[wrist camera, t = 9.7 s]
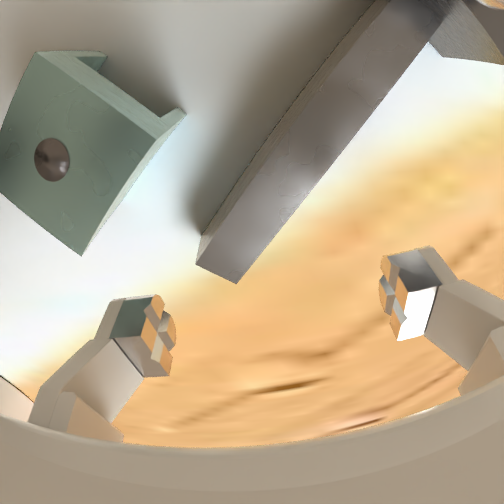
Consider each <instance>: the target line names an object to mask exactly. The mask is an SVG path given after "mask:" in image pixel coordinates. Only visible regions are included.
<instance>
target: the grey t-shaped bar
mask: <svg viewBox="0 0 504 504" xmlns="http://www.w3.org/2000/svg"><path fill="white" fill-rule="evenodd" d="M428 41H429V42H430V43H431V44H432V45H433V47H434V48H435V49H436V50H437V51H438V52H439V53H440V54H441V56H442V57H448V58H459V59H468V60H475V61H482V62H489V63H495V64H500V65H504V0H375V1H374V2H373V3H372V5H371V6H370V7H369V8H368V9H367V10H366V12H365V13H364V14H363V15H362V16H361V17H360V19H359V20H358V21H357V22H356V23H355V25H354V26H353V27H352V28H351V29H350V31H349V32H348V33H347V34H346V36H345V37H344V38H343V39H342V40H341V42H340V43H339V44H338V45H337V47H336V48H335V49H334V50H333V52H332V53H331V54H330V55H329V57H328V58H327V59H326V60H325V62H324V63H323V64H322V66H321V67H320V68H319V69H318V71H317V72H316V73H315V75H314V76H313V77H312V78H311V80H310V81H309V82H308V84H307V85H306V86H305V88H304V89H303V90H302V92H301V93H300V94H299V96H298V97H297V98H296V100H295V101H294V102H293V104H292V105H291V106H290V108H289V109H288V110H287V112H286V113H285V115H284V116H283V117H282V119H281V120H280V121H279V123H278V124H277V126H276V127H275V128H274V130H273V131H272V132H271V134H270V135H269V137H268V138H267V139H266V141H265V142H264V144H263V145H262V147H261V148H260V149H259V151H258V152H257V154H256V155H255V157H254V158H253V159H252V161H251V162H250V164H249V165H248V167H247V168H246V170H245V171H244V172H243V174H242V175H241V177H240V178H239V180H238V181H237V183H236V184H235V186H234V187H233V189H232V190H231V192H230V193H229V195H228V196H227V198H226V199H225V201H224V202H223V204H222V205H221V207H220V208H219V210H218V211H217V213H216V214H215V216H214V217H213V219H212V220H211V222H210V224H209V225H208V227H207V228H206V230H205V231H204V233H203V234H202V236H201V240H200V244H199V249H198V254H197V258H196V263H195V264H196V265H198V266H200V267H202V268H204V269H206V270H208V271H210V272H212V273H214V274H216V275H218V276H221V277H223V278H225V279H227V280H229V281H231V282H233V283H235V284H237V283H238V281H239V280H240V279H241V278H242V276H243V275H244V274H245V273H246V272H247V270H248V269H249V268H250V267H251V265H252V264H253V263H254V262H255V260H256V259H257V258H258V257H259V255H260V254H261V253H262V252H263V250H264V249H265V248H266V247H267V245H268V244H269V243H270V242H271V240H272V239H273V238H274V237H275V235H276V234H277V233H278V232H279V230H280V229H281V228H282V227H283V225H284V224H285V223H286V222H287V220H288V219H289V218H290V217H291V215H292V214H293V213H294V212H295V210H296V209H297V208H298V207H299V205H300V204H301V203H302V202H303V200H304V199H305V198H306V196H307V195H308V194H309V193H310V191H311V190H312V189H313V188H314V186H315V185H316V184H317V183H318V181H319V180H320V179H321V178H322V176H323V175H324V174H325V173H326V171H327V170H328V169H329V167H330V166H331V165H332V164H333V162H334V161H335V160H336V159H337V157H338V156H339V155H340V154H341V152H342V151H343V150H344V148H345V147H346V146H347V145H348V143H349V142H350V141H351V140H352V138H353V137H354V136H355V134H356V133H357V132H358V131H359V129H360V128H361V127H362V126H363V124H364V123H365V122H366V120H367V119H368V118H369V117H370V115H371V114H372V113H373V111H374V110H375V109H376V108H377V106H378V105H379V104H380V103H381V101H382V100H383V99H384V97H385V96H386V95H387V94H388V92H389V91H390V90H391V88H392V87H393V86H394V85H395V83H396V82H397V81H398V79H399V78H400V77H401V76H402V74H403V73H404V72H405V70H406V69H407V68H408V66H409V65H410V64H411V63H412V61H413V60H414V59H415V57H416V56H417V55H418V53H419V52H420V51H421V50H422V48H423V47H424V46H425V44H426V43H427V42H428Z"/></svg>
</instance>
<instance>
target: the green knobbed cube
mask: <svg viewBox="0 0 504 504" xmlns="http://www.w3.org/2000/svg"><path fill="white" fill-rule="evenodd" d="M107 57H108V56H106V55H105V54H103V53H102V52H100V51H42V52H35V53H34V55H33V57H32V59H31V61H30V63H29V65H28V67H27V69H26V71H25V73H24V75H23V77H22V79H21V81H20V83H19V85H18V88H17V90H16V92H15V94H14V97H13V99H12V101H11V104H10V106H9V109H8V111H7V114H6V117H5V119H4V122H3V125H2V128H1V131H0V193H2V194H3V195H4V196H5V197H6V198H7V199H9V200H10V201H11V202H12V203H13V204H14V205H16V206H17V207H18V208H19V209H20V210H22V211H23V212H24V213H25V214H26V215H28V216H29V217H30V218H31V219H33V220H34V221H35V222H36V223H38V224H39V225H40V226H41V227H43V228H44V229H45V230H46V231H48V232H49V233H50V234H52V235H53V236H54V237H56V238H57V239H58V240H60V241H61V242H62V243H64V244H65V245H66V246H68V247H69V248H70V249H72V250H73V251H74V252H76V253H77V254H79V255H80V256H82V255H83V253H84V252H85V250H86V249H87V248H88V246H89V245H90V243H91V242H92V240H93V239H94V238H95V236H96V235H97V233H98V232H99V231H100V229H101V228H102V226H103V225H104V224H105V222H106V221H107V220H108V218H109V217H110V216H111V214H112V213H113V212H114V210H115V209H116V208H117V207H118V205H119V204H120V203H121V201H122V200H123V199H124V197H125V196H126V194H127V193H128V191H129V190H130V188H131V187H132V186H133V184H134V183H135V181H136V180H137V178H138V177H139V176H140V174H141V173H142V171H143V170H144V169H145V167H146V166H147V165H148V163H149V162H150V160H151V159H152V158H153V156H154V155H155V154H156V153H157V151H158V150H159V149H160V147H161V146H162V145H163V143H164V142H165V141H166V140H167V138H168V137H169V136H170V135H171V133H172V132H173V131H174V130H175V128H176V127H177V126H178V125H179V123H180V122H181V121H182V120H183V119H184V117H185V116H186V115H187V114H186V113H184V112H183V111H182V110H181V109H179V108H178V107H177V108H176V109H174V110H172V111H170V112H169V113H167V114H165V115H164V116H162V117H160V118H159V117H158V116H157V115H155V114H154V113H153V112H151V111H150V110H149V109H147V108H146V107H145V106H143V105H142V104H141V103H139V102H138V101H136V100H135V99H134V98H132V97H131V96H130V95H128V94H127V93H126V92H124V91H123V90H121V89H120V88H119V87H117V86H116V85H114V84H113V83H112V82H110V81H109V80H107V79H106V78H105V77H103V76H102V75H100V74H99V73H98V72H97V71H98V70H99V68H100V67H101V66H102V64H103V63H104V61H105V60H106V58H107Z"/></svg>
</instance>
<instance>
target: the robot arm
mask: <svg viewBox="0 0 504 504" xmlns="http://www.w3.org/2000/svg"><path fill="white" fill-rule="evenodd" d="M381 270H382V272H383V274H384V275H383V276H382V278H381V279H380V280H379V296H380V301H381V304H382V307H383V309H384V312H386V313H387V314H389V315H391V319H390V325H391V327H392V330H393V332H394V334H395V337H396V339H397V341H401V340H405V339H409V338H412V337H416V336H420V335H424V336H425V337H426V338H427V339H429V340H430V341H431V342H432V343H434V344H435V345H436V346H437V347H439V348H440V349H441V350H442V351H444V352H445V353H446V354H447V355H449V356H450V357H451V358H452V359H454V360H455V361H456V362H457V363H459V364H460V365H461V366H462V367H464V368H465V369H466V370H467V371H468V372H467V374H466V375H465V377H464V378H463V380H462V381H461V383H460V385H459V387H458V390H459V392H460V395H461V396H459V397H457V398H454V399H452V400H450V401H447V402H445V403H442V404H439V405H437V406H434V407H432V408H429V409H426V410H423V411H420V412H417V413H415V414H412V415H409V416H405V417H402V418H399V419H396V420H392V421H389V422H386V423H382V424H378V425H375V426H371V427H367V428H363V429H359V430H354V431H350V432H346V433H341V434H336V435H331V436H326V437H320V438H314V439H308V440H302V441H294V442H287V443H278V444H269V445H257V446H243V447H218V448H190V447H165V446H151V445H140V444H131V443H123V437H124V435H123V433H122V432H121V431H120V430H119V429H117V428H116V427H115V426H113V425H112V424H111V423H112V421H113V420H114V419H115V417H116V416H117V415H118V413H119V412H120V410H121V409H122V408H123V406H124V405H125V404H126V402H127V401H128V400H129V398H130V397H131V396H132V394H133V393H134V392H135V390H136V389H137V388H138V386H139V385H140V384H141V382H142V381H143V380H144V378H143V377H161V376H169V374H170V369H171V363H172V358H173V357H172V356H171V354H170V353H169V351H170V350H171V349H172V348H173V347H174V346H175V342H176V328H175V324H174V321H173V319H172V317H171V315H170V314H168V313H167V312H165V311H163V309H164V305H165V304H164V302H163V300H162V299H161V297H160V296H159V295H156V294H155V295H146V296H137V297H128V298H121V299H114V300H112V301H111V302H110V303H109V305H108V308H107V310H106V312H105V314H104V317H103V319H102V321H101V324H100V326H99V328H98V331H97V333H96V336H95V338H94V340H89V341H88V342H87V343H86V344H85V345H84V346H83V347H82V348H81V349H80V350H78V351H77V352H76V353H75V354H74V355H73V356H72V357H71V358H70V359H69V360H68V361H67V362H66V363H65V364H64V365H63V366H61V367H60V368H59V369H58V370H57V371H56V372H55V373H54V374H53V375H52V376H51V377H50V378H49V379H48V380H47V381H46V382H45V383H44V384H43V385H42V386H41V387H40V389H39V392H38V394H37V397H36V400H35V402H34V403H33V402H32V401H31V400H30V399H29V398H27V397H26V396H25V395H24V394H23V393H21V392H20V391H19V390H18V389H16V388H15V387H14V386H12V385H11V384H10V383H8V382H7V381H6V380H4V379H3V378H1V377H0V504H504V300H502V299H500V298H498V297H497V296H495V295H493V294H491V293H489V292H487V291H485V290H483V289H481V288H479V287H477V286H475V285H473V284H471V283H469V282H467V281H465V280H460V281H459V280H458V279H457V277H456V276H455V275H454V273H453V272H452V271H451V269H450V268H449V267H448V265H447V264H446V263H445V262H444V260H443V259H442V258H441V257H440V255H439V254H438V253H437V252H436V250H435V249H434V248H433V247H431V246H425V247H421V248H417V249H414V250H409V251H405V252H400V253H395V254H390V255H385V256H383V257H382V260H381Z"/></svg>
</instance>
